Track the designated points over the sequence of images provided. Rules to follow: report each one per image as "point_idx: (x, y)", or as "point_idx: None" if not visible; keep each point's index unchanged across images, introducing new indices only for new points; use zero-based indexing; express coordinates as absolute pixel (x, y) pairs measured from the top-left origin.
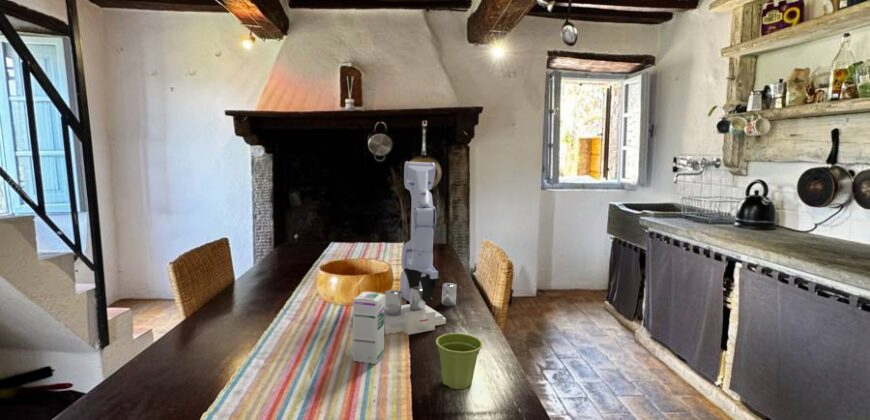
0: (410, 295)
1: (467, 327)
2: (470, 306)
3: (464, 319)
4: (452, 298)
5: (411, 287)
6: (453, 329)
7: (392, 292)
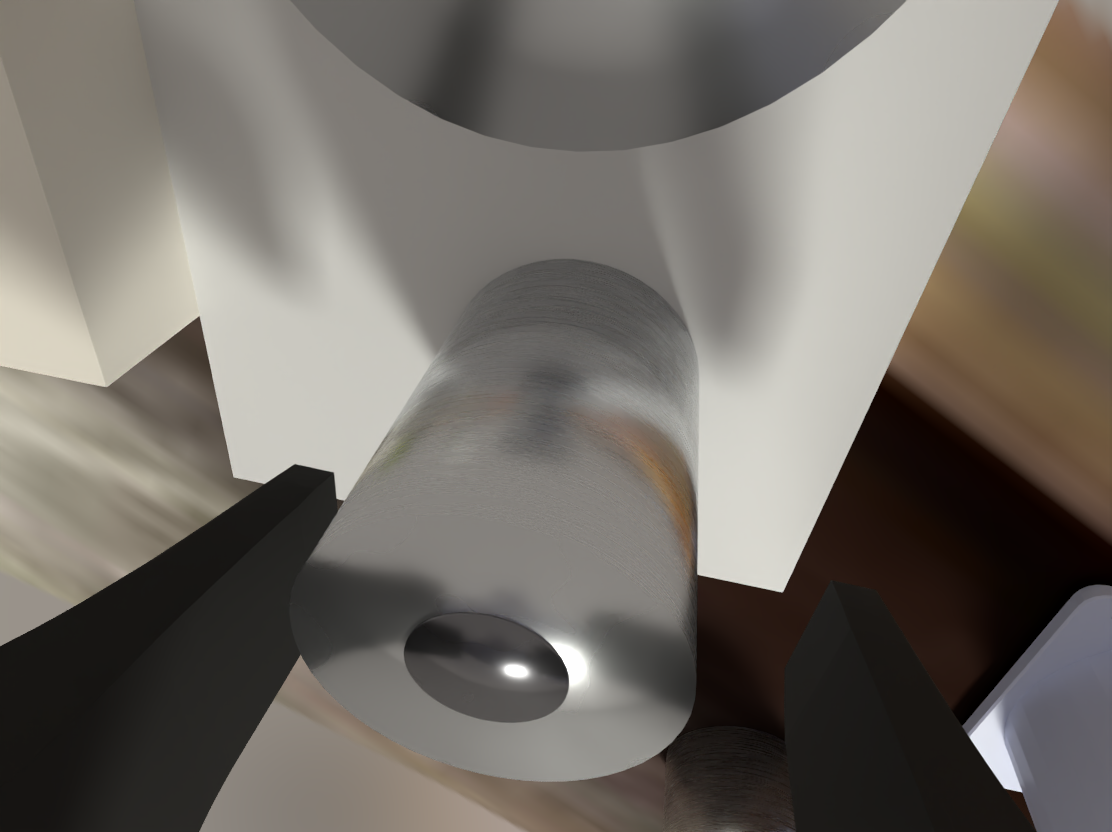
0: (571, 421)
1: (158, 519)
2: (565, 799)
3: None
4: (666, 821)
5: (863, 697)
6: (136, 404)
7: None
